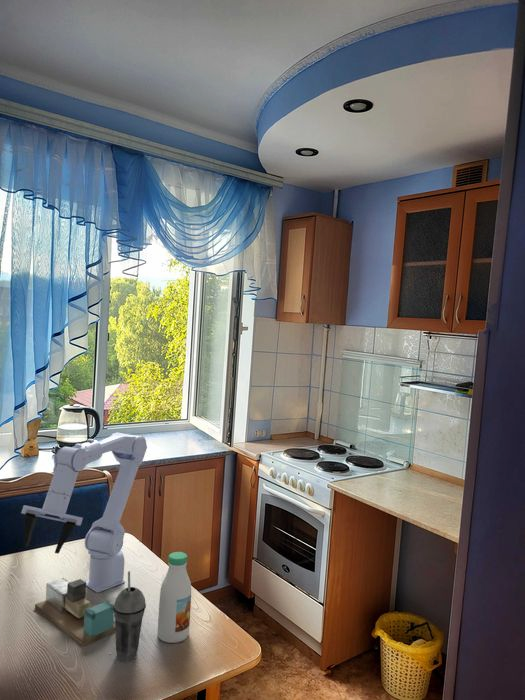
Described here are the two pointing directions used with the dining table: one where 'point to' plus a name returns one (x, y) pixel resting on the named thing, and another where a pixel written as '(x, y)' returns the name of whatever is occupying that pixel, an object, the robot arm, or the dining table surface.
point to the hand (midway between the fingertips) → (41, 549)
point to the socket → (98, 619)
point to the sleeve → (57, 594)
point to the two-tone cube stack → (76, 598)
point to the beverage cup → (128, 621)
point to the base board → (70, 623)
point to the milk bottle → (175, 601)
